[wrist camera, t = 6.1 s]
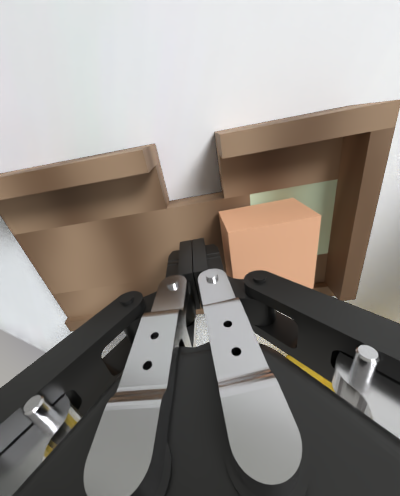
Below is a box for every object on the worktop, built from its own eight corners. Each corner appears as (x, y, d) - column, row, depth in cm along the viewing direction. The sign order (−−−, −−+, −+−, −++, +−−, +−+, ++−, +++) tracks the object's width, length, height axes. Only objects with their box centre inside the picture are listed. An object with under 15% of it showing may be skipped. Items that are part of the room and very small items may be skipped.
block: (293, 197, 13) (321, 215, 10) (290, 260, 15) (313, 288, 13) (218, 211, 13) (228, 232, 11) (226, 272, 15) (235, 302, 13)
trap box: (349, 105, 12) (401, 99, 9) (326, 278, 18) (352, 310, 15) (-3, 174, 14) (-60, 188, 11) (81, 312, 19) (60, 347, 16)
